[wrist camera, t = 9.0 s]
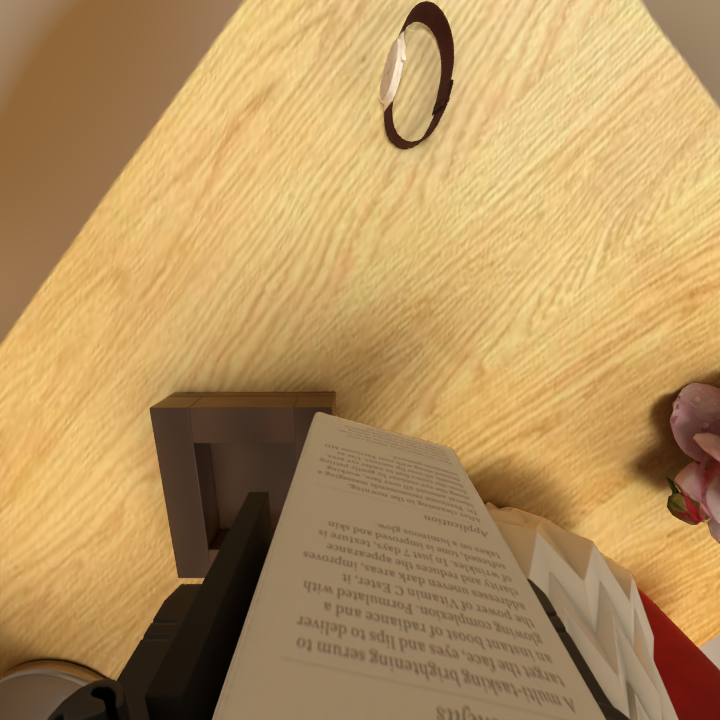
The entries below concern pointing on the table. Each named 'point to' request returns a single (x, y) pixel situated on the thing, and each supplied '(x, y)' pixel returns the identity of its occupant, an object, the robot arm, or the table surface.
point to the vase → (591, 609)
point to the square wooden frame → (227, 461)
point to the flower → (697, 456)
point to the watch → (395, 62)
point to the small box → (394, 598)
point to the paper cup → (683, 668)
